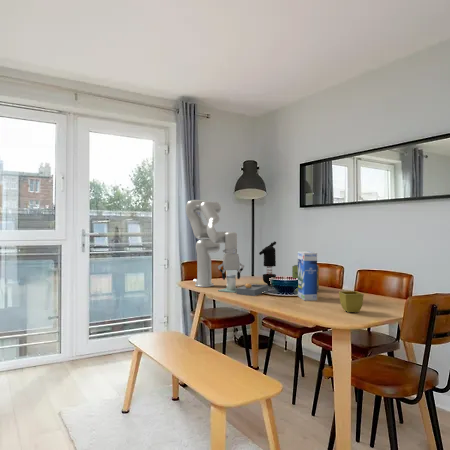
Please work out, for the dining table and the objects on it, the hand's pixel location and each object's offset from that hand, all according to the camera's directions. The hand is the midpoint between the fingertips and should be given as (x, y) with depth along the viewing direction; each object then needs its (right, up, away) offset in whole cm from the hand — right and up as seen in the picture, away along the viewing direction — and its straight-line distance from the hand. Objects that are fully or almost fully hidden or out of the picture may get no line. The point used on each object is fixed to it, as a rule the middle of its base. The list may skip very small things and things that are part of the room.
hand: (231, 279), depth 241 cm
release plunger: (+10, -7, -12) cm, 17 cm away
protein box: (+47, -7, -1) cm, 47 cm away
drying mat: (0, -7, 0) cm, 7 cm away
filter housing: (+13, -7, -7) cm, 17 cm away
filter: (+25, -7, +18) cm, 31 cm away
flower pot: (+55, -7, -61) cm, 83 cm away
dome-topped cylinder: (0, -7, 0) cm, 7 cm away
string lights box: (+42, -7, -27) cm, 51 cm away
